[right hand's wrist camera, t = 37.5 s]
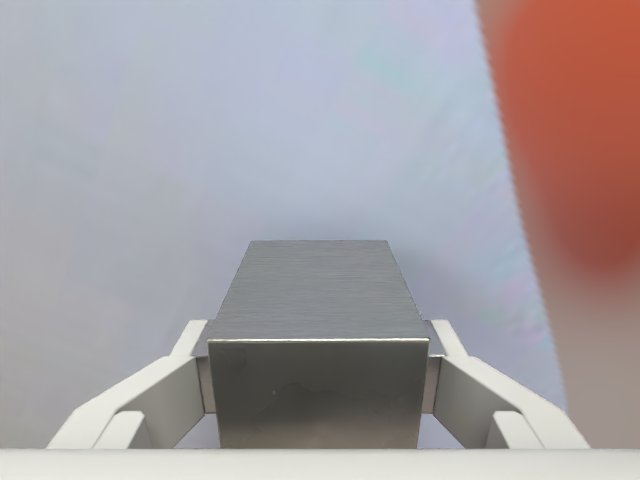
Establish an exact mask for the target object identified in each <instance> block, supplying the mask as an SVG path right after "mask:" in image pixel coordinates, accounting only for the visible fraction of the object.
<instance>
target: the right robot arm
mask: <svg viewBox="0 0 640 480" xmlns="http://www.w3.org/2000/svg"><path fill="white" fill-rule="evenodd" d="M214 321H215V320H191V321H189V322H188V324H187V325H186V327H185V329H184V331H183V332H182V334H181V336H180V337H179V339H178V341H177V343H176V344H175V346H174V348H173V350H172V351H171V353H170V355H169V356H163V357H161V358H159V359H158V360H156V361H154V362H153V363H151V364H149V365H148V366H146V367H144V368H143V369H141V370H139V371H138V372H136V373H134V374H133V375H131V376H129V377H128V378H126V379H125V380H123V381H121V382H120V383H118V384H116V385H115V386H113V387H111V388H110V389H108V390H106V391H105V392H103V393H101V394H100V395H98V396H96V397H95V398H93V399H91V400H90V401H88V402H86V403H85V404H83V405H81V406H80V407H78V408H76V409H75V410H74V411H73V412H72V414H71V415H70V416H69V418H68V419H67V420H66V421H65V423H64V424H63V425H62V427H61V428H60V429H59V430H58V432H57V433H56V434H55V436H54V437H53V438H52V439H51V441H50V442H49V443H48V445H47V446H46V447H45V448H44V449H0V480H640V449H592V448H591V446H590V445H589V444H588V442H587V441H586V440H585V438H584V437H583V436H582V434H581V433H580V432H579V431H578V429H577V428H576V427H575V425H574V424H573V423H572V421H571V420H570V419H569V417H568V416H567V415H566V414H565V412H564V411H563V410H562V409H561V408H559V407H557V406H556V405H554V404H552V403H551V402H549V401H547V400H546V399H544V398H542V397H541V396H539V395H537V394H536V393H534V392H532V391H531V390H529V389H528V388H526V387H524V386H523V385H521V384H519V383H518V382H516V381H514V380H513V379H511V378H509V377H508V376H506V375H504V374H503V373H501V372H500V371H498V370H496V369H495V368H493V367H491V366H490V365H488V364H486V363H485V362H483V361H481V360H480V359H478V358H476V357H475V356H469V355H468V354H467V352H466V350H465V349H464V347H463V345H462V343H461V342H460V340H459V338H458V336H457V335H456V333H455V331H454V329H453V328H452V326H451V324H450V323H449V321H448V320H446V319H440V320H422V321H423V323H424V325H425V328H426V330H427V332H428V334H429V337H430V339H431V344H430V351H429V359H428V366H427V374H426V381H425V389H424V396H423V404H422V411H421V413H428V414H433V416H434V417H435V418H436V419H437V420H438V421H439V422H440V423H441V424H442V425H443V426H444V427H445V428H446V429H447V430H448V431H449V432H450V433H451V434H452V435H453V436H454V437H455V438H456V439H457V440H458V441H459V442H460V443H461V444H462V445H463V446H464V447H465V448H466V449H172V448H173V447H174V446H175V445H176V444H177V443H178V442H179V441H180V440H181V439H182V438H183V437H184V436H185V435H186V434H187V433H188V432H189V431H190V430H191V429H192V428H193V427H194V426H195V425H196V424H197V423H198V422H199V421H200V420H201V419H202V418H203V417H204V416H205V415H204V414H210V413H216V410H215V403H214V396H213V389H212V382H211V375H210V368H209V361H208V354H207V347H206V338H207V336H208V334H209V332H210V330H211V328H212V325H213V323H214Z"/></svg>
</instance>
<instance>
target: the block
mask: <svg viewBox="0 0 640 480" xmlns="http://www.w3.org/2000/svg"><path fill="white" fill-rule="evenodd" d="M430 344H431V339H430V337H429V334H428V332H427V330H426V328H425V325H424V323H423V321H422V319H421V317H420V314H419V312H418V310H417V308H416V305H415V303H414V301H413V299H412V297H411V294H410V292H409V290H408V288H407V285H406V283H405V281H404V279H403V276H402V274H401V272H400V270H399V268H398V265H397V263H396V261H395V259H394V256H393V254H392V252H391V250H390V247H389V245H388V243H387V241H251V243H250V245H249V247H248V249H247V251H246V254H245V256H244V258H243V260H242V262H241V264H240V267H239V269H238V271H237V273H236V275H235V277H234V280H233V282H232V284H231V286H230V288H229V291H228V293H227V295H226V297H225V299H224V301H223V304H222V306H221V308H220V310H219V312H218V315H217V317H216V319H215V321H214V323H213V325H212V328H211V330H210V332H209V334H208V336H207V338H206V347H207V354H208V361H209V368H210V375H211V382H212V389H213V396H214V403H215V410H216V417H217V424H218V431H219V438H220V445H221V449H417V441H418V434H419V426H420V419H421V411H422V404H423V396H424V389H425V381H426V374H427V366H428V359H429V351H430Z"/></svg>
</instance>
